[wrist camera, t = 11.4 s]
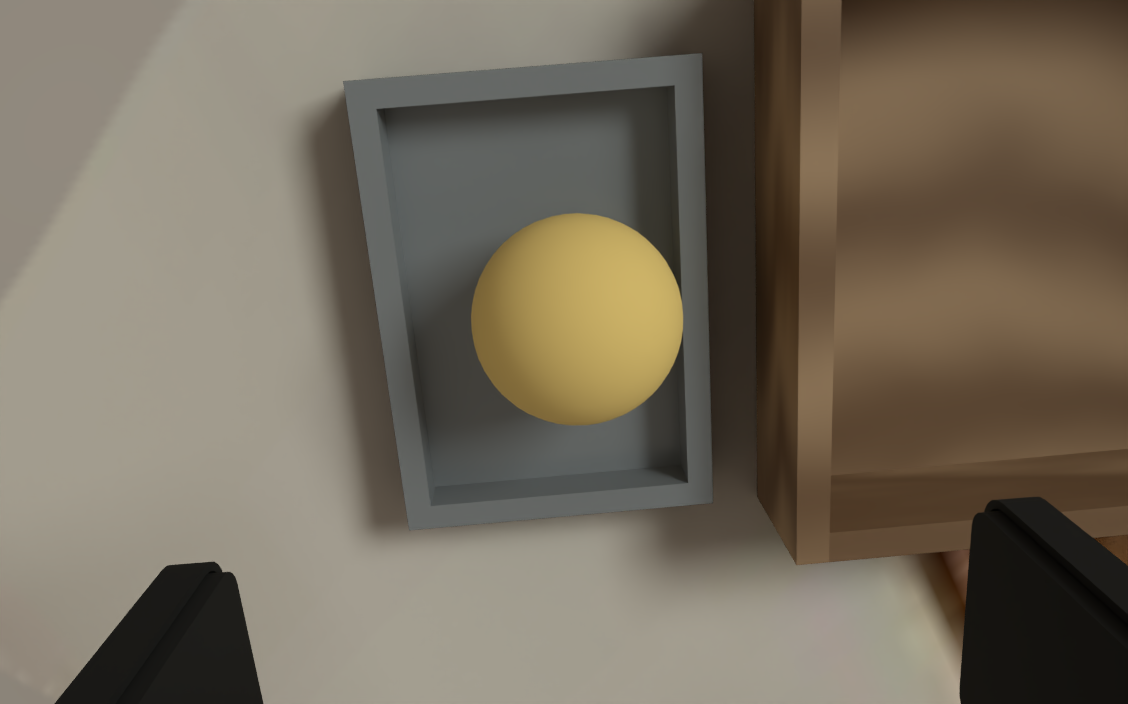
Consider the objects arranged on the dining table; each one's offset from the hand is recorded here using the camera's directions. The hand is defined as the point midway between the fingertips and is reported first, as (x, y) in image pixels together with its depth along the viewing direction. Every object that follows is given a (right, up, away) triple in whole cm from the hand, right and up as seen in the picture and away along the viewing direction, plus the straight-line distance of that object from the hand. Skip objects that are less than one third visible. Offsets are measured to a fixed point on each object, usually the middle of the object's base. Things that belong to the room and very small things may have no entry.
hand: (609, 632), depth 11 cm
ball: (-1, +5, +16) cm, 17 cm away
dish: (-1, +5, +17) cm, 18 cm away
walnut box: (+15, +8, +17) cm, 24 cm away
